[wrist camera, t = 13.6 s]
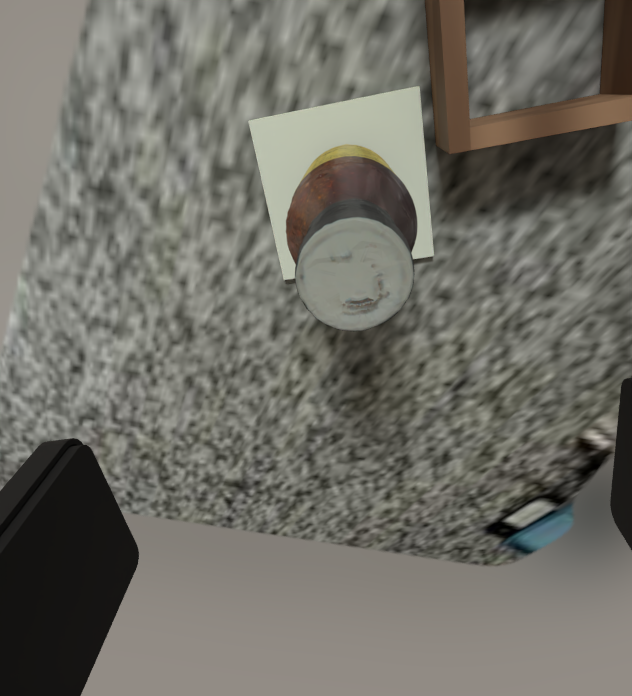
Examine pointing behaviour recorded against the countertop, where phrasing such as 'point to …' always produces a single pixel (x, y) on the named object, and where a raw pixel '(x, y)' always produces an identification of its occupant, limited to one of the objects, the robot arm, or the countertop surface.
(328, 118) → the sage mat
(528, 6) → the countertop surface
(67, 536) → the robot arm
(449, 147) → the frame
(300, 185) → the sauce bottle
